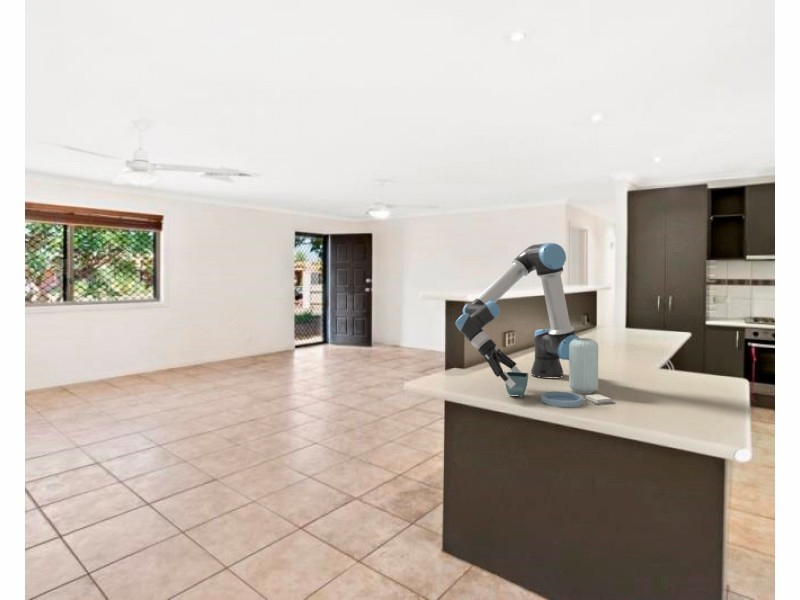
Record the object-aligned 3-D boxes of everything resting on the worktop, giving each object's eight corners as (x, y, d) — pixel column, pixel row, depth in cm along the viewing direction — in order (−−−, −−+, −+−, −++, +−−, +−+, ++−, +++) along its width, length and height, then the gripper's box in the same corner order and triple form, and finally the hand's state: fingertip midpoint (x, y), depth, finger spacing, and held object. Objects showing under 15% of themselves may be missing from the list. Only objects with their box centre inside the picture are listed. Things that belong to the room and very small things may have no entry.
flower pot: (528, 393, 199) (528, 372, 199) (527, 399, 191) (526, 377, 191) (507, 392, 202) (507, 371, 202) (504, 397, 194) (504, 375, 194)
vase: (584, 395, 194) (584, 342, 193) (563, 390, 204) (563, 338, 203) (604, 392, 199) (604, 339, 198) (582, 386, 210) (582, 336, 208)
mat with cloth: (581, 398, 190) (581, 394, 190) (598, 396, 192) (598, 393, 192) (597, 405, 181) (597, 401, 181) (615, 403, 183) (615, 399, 182)
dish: (534, 398, 192) (534, 393, 191) (567, 395, 195) (567, 390, 195) (555, 408, 177) (555, 402, 177) (591, 405, 180) (591, 399, 180)
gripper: (488, 346, 215) (521, 382, 208) (466, 354, 194) (502, 395, 187) (499, 334, 212) (533, 371, 205) (478, 342, 191) (515, 383, 184)
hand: (518, 382), depth 196 cm, fingers open, 13 cm apart
